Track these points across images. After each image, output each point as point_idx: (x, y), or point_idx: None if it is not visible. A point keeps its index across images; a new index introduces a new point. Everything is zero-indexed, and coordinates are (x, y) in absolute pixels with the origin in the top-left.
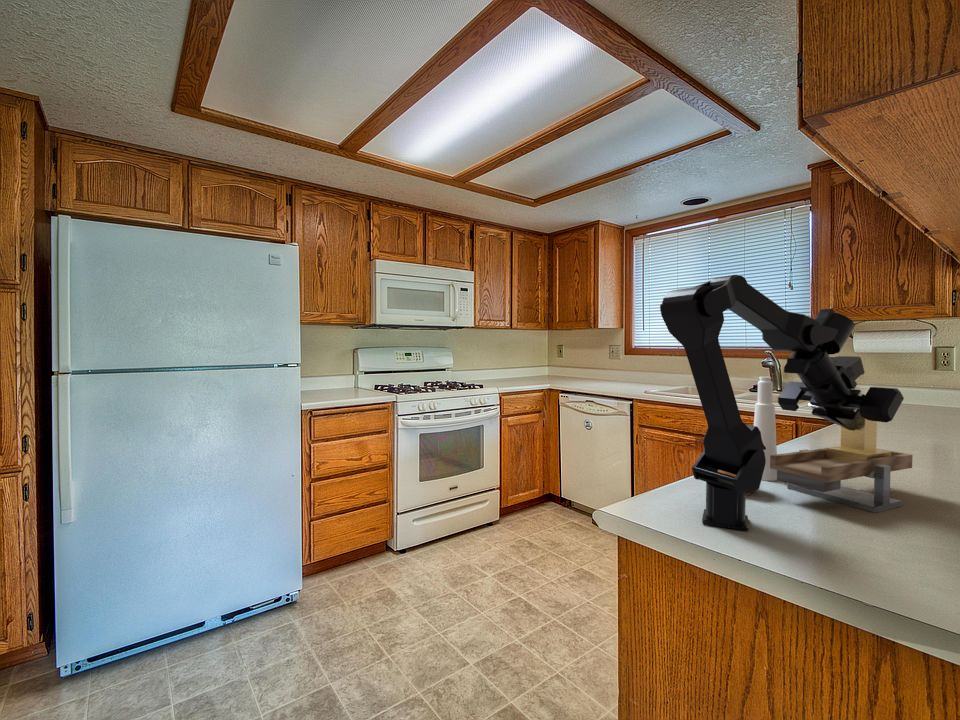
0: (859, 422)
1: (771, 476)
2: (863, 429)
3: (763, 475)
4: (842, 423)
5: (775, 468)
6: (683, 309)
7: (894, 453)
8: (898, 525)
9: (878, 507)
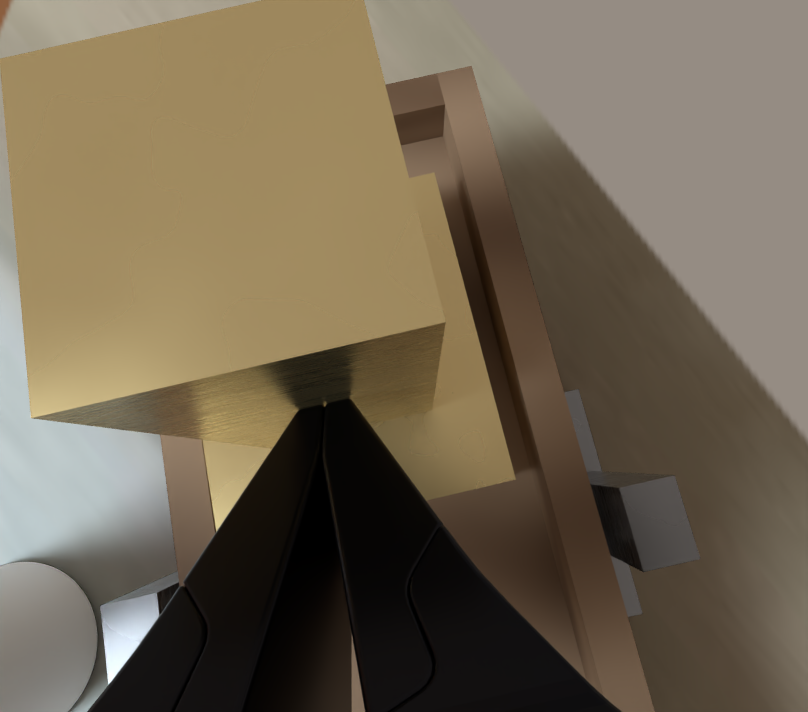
0: (374, 380)
1: (75, 676)
2: (422, 382)
3: None
4: (350, 658)
5: None
6: None
7: (398, 119)
8: (785, 666)
9: (632, 584)
